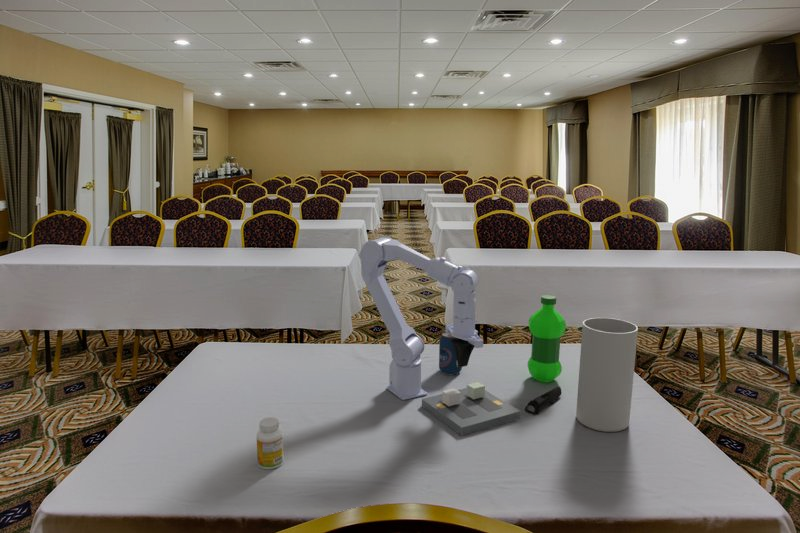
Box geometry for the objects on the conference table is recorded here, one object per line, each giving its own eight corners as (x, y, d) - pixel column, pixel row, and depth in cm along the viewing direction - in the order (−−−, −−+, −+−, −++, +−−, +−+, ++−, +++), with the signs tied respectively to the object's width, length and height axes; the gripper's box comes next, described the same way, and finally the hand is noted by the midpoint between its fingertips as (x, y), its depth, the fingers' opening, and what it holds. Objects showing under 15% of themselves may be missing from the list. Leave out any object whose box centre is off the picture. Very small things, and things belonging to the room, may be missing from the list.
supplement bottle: (260, 457, 125) (258, 416, 123) (284, 456, 125) (283, 415, 123) (256, 470, 119) (253, 428, 117) (282, 469, 120) (280, 427, 118)
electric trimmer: (565, 398, 156) (565, 387, 155) (536, 416, 145) (537, 405, 144) (552, 394, 158) (553, 383, 158) (523, 412, 147) (523, 400, 146)
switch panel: (421, 405, 150) (421, 398, 149) (476, 392, 158) (477, 385, 158) (461, 435, 134) (461, 427, 134) (520, 418, 143) (520, 410, 143)
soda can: (434, 371, 173) (434, 333, 171) (449, 365, 178) (450, 328, 175) (451, 377, 168) (451, 339, 166) (466, 371, 173) (467, 334, 170)
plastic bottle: (567, 378, 168) (573, 296, 163) (550, 389, 161) (556, 303, 155) (537, 369, 175) (541, 290, 170) (519, 379, 167) (523, 297, 162)
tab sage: (466, 395, 151) (467, 384, 150) (477, 392, 152) (478, 381, 152) (473, 399, 148) (473, 388, 148) (484, 396, 150) (484, 385, 149)
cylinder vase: (590, 435, 135) (598, 334, 130) (567, 411, 147) (573, 318, 142) (639, 431, 137) (648, 332, 132) (612, 408, 149) (620, 316, 144)
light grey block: (442, 401, 147) (442, 391, 146) (453, 399, 148) (454, 388, 148) (448, 406, 144) (449, 395, 143) (460, 403, 146) (460, 392, 145)
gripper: (493, 321, 143) (491, 372, 146) (461, 307, 155) (459, 354, 158) (470, 325, 140) (468, 377, 142) (439, 310, 152) (438, 358, 155)
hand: (462, 365), depth 150 cm, fingers closed
